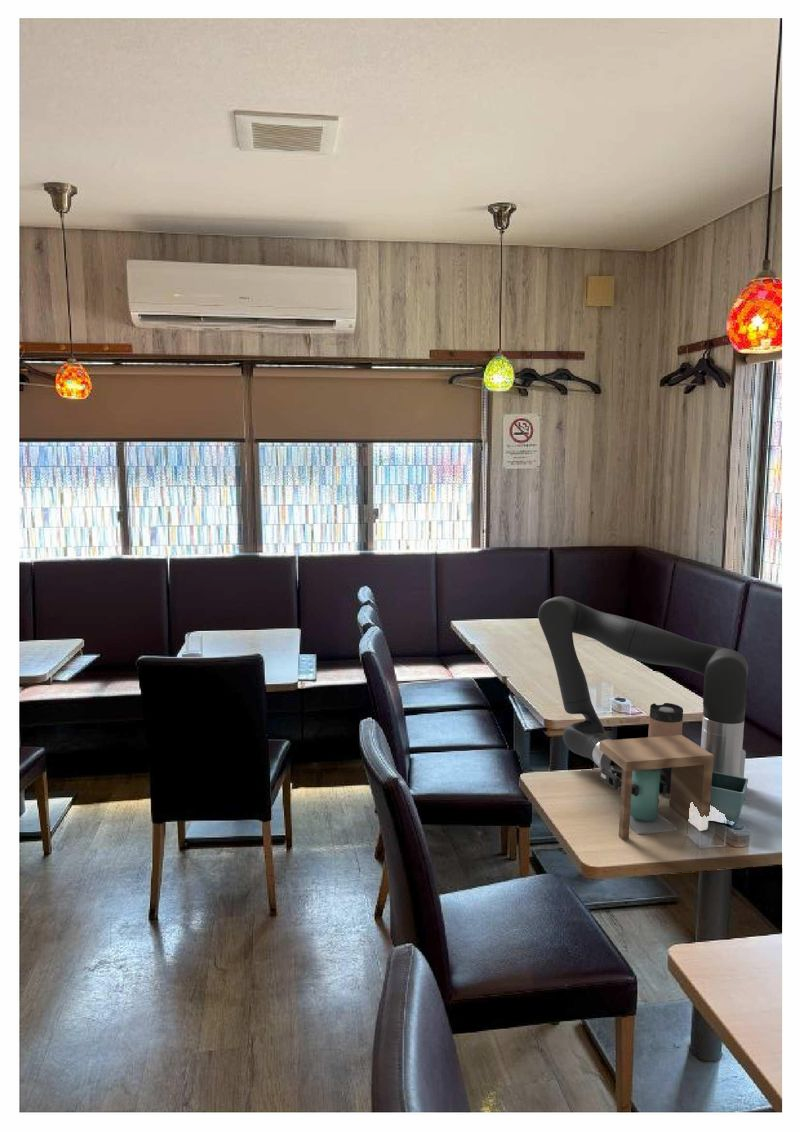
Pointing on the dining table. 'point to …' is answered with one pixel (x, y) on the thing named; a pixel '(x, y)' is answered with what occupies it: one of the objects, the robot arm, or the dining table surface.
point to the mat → (650, 825)
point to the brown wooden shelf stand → (664, 752)
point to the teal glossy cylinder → (646, 794)
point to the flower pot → (728, 794)
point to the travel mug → (665, 727)
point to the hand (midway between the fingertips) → (650, 790)
